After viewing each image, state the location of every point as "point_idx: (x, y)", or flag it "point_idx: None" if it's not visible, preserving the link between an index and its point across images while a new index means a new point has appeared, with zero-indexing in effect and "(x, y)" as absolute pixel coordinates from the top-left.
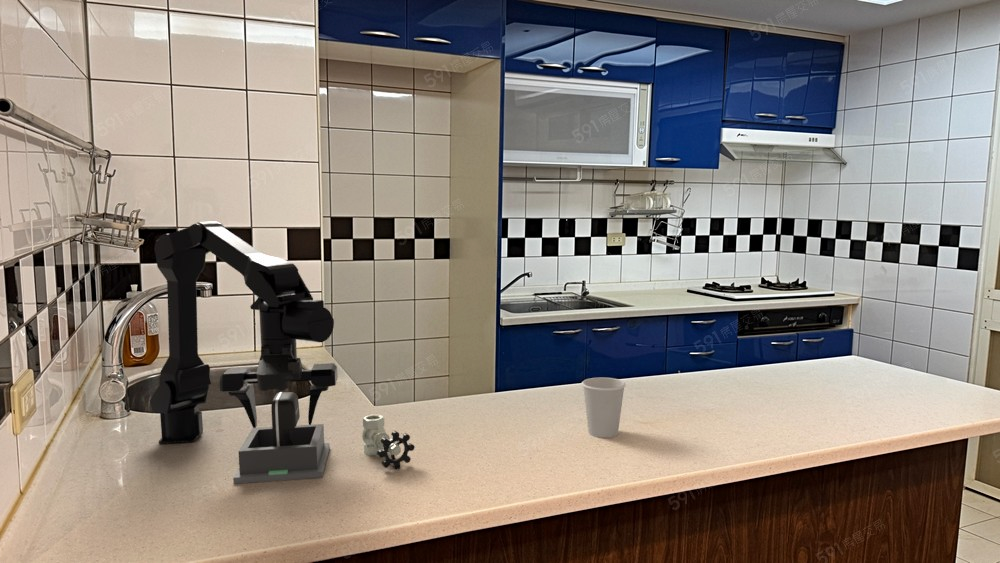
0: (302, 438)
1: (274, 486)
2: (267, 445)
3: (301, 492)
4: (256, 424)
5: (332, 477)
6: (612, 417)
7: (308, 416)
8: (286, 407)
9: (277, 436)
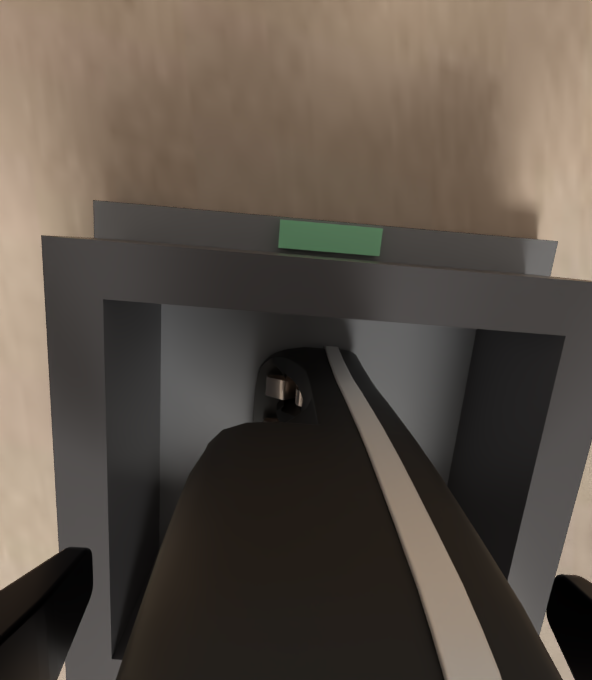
0: None
1: (342, 149)
2: None
3: (197, 17)
4: (556, 623)
5: (54, 194)
6: None
7: (34, 605)
8: (251, 656)
9: (360, 403)
